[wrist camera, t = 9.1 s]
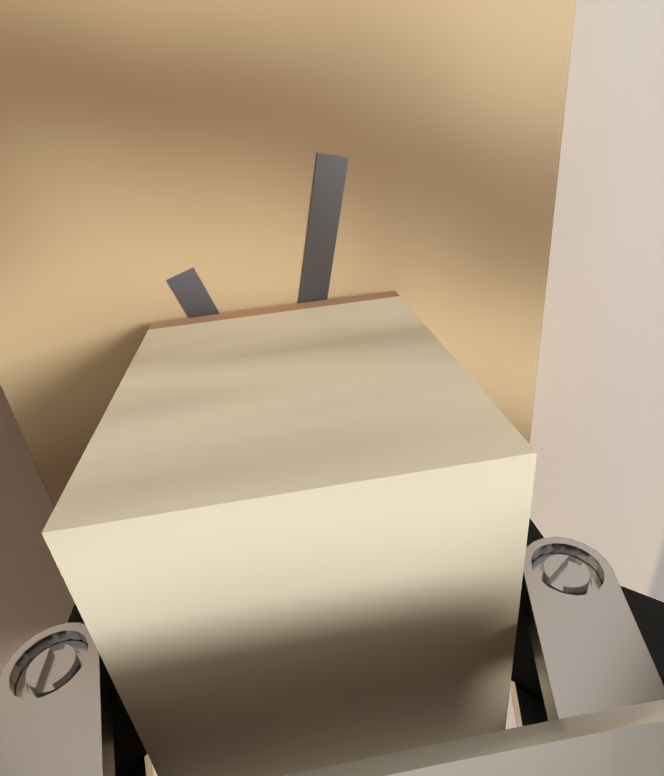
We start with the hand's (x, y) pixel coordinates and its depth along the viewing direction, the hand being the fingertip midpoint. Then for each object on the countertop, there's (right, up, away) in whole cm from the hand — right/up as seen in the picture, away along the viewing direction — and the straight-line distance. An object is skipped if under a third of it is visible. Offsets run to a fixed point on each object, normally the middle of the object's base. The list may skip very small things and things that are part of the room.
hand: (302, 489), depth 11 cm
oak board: (0, +1, +2) cm, 2 cm away
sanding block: (0, 0, +1) cm, 1 cm away
